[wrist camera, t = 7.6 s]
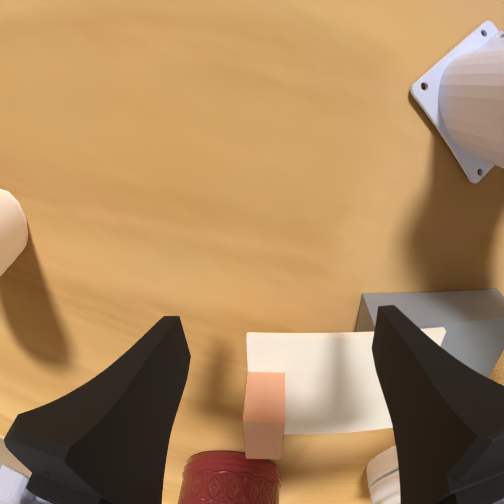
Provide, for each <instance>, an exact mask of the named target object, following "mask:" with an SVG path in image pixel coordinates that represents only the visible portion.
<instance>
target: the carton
mask: <svg viewBox="0 0 504 504" xmlns="http://www.w3.org/2000/svg"><path fill="white" fill-rule="evenodd" d="M387 305H395V306H396V307H397V308H398V309H399V310H400V311H401V312H402V313H403V314H405V315H406V316H407V317H408V318H409V319H410V320H411V321H412V322H413V323H414V324H415V325H416V326H417V327H419V328H420V329H425V328H437V327H444V329H445V330H446V333H445V336H444V338H443V341H442V343H441V346H440V347H442V348H443V349H444V350H446V351H447V352H448V353H449V354H451V355H452V356H453V357H455V358H456V359H458V360H459V361H461V362H462V363H464V364H465V365H467V366H468V367H469V368H471V369H473V370H474V371H476V372H478V373H480V374H481V375H483V376H485V377H487V378H488V377H489V375H490V373H491V371H492V370H493V368H494V366H495V364H496V363H497V361H498V359H499V357H500V355H501V353H502V351H503V349H504V297H503V295H502V294H501V293H500V292H499V291H498V290H497V289H484V290H465V291H442V292H413V293H366V294H362V298H361V304H360V309H359V314H358V319H357V324H356V329H355V332H374V331H375V324H376V318H377V311H378V306H387Z"/></svg>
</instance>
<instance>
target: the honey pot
mask: <svg viewBox="0 0 504 504" xmlns="http://www.w3.org/2000/svg"><path fill="white" fill-rule="evenodd" d="M366 473H367V480H368V487H369V490H370V491H369V493H370V499H371V501H372V503H373V504H401V500H400V479H399V467H398V458H397V450H396V445H395V446H393V447H391V448H389V449H387V450H385V451H383V452H382V453H380V454H378V455H377V456H376V457H374V458H373V459H372V460H371V461H370V462H369V463H368V465H367V467H366Z"/></svg>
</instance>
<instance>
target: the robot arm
mask: <svg viewBox="0 0 504 504" xmlns="http://www.w3.org/2000/svg"><path fill="white" fill-rule="evenodd" d="M481 31H482V32H483V33H484V36H483V35H482V33H481ZM422 83H424V84H425V86H426V88H425V90H423V89H422V88H421V84H422ZM410 93H411V95H412V96H413V97H414V99H415V100H416V101H417V103H418V104H419V105H420V107H421V108H422V109H423V111H424V112H425V113H426V115H427V116H428V117H429V119H430V120H431V122H432V123H433V124H434V126H435V127H436V129H437V130H438V132H439V133H440V135H441V136H442V138H443V139H444V141H445V142H446V144H447V145H448V147H449V148H450V150H451V151H452V153H453V155H454V156H455V158H456V159H457V161H458V163H459V164H460V166H461V168H462V169H463V171H464V173H465V174H466V176H467V178H468V180H469V181H470V182H472V183H474V184H475V183H478V182H479V181H480V180H481V179H482V178H483V177H484V176H485V175H486V174H487V173H488V172H489V171H490V170H491V169H492V168H493V167H494V166H495V165H496V166H499V167H501V168H503V169H504V31H498V30H497V28H496V27H495V25H494V24H493V23H492V22H491V21H485V22H483V23H482V24H481V25H480V26H479V27H477V28H476V29H475V30H474V31H473V32H472V33H471V34H469V35H468V36H467V37H466V38H465V39H464V40H462V41H461V42H460V43H459V44H458V45H457V46H456V47H454V48H453V49H452V50H451V51H450V52H449V53H448V54H446V55H445V56H444V57H443V58H442V59H441V60H440V61H438V62H437V63H436V64H435V65H434V66H433V67H432V68H430V69H429V70H428V71H427V72H426V73H425V74H424V75H423V76H421V77H420V78H419V79H418V80H417V81H416V82H415V83H413V84H412V86H411V87H410ZM478 169H480V173H479V174H477V171H478ZM372 354H373V359H374V364H375V369H376V373H377V376H378V380H379V383H380V386H381V389H382V392H383V395H384V398H385V402H386V405H387V408H388V411H389V415H390V418H391V422H392V426H393V430H394V437H395V443H396V450H397V458H398V467H399V479H400V500H401V504H504V386H503V385H501V384H499V383H497V382H495V381H492V380H490V379H489V378H487V377H485V376H483V375H481V374H480V373H478V372H476V371H474V370H473V369H471V368H469V367H468V366H467V365H465V364H464V363H462V362H461V361H459V360H458V359H456V358H455V357H453V356H452V355H451V354H449V353H448V352H447V351H446V350H444V349H443V348H442V347H440V346H439V345H438V344H437V343H436V342H434V341H433V340H432V339H431V338H430V337H429V336H427V335H426V334H425V333H424V332H423V331H422V330H421V329H420V328H419V327H417V326H416V325H415V324H414V323H413V322H412V321H411V320H410V319H409V318H408V317H407V316H406V315H405V314H403V313H402V312H401V311H400V310H399V309H398V308H397V307H396V306H395V305H387V306H378V311H377V318H376V324H375V331H374V337H373V342H372ZM190 358H191V355H190V352H189V348H188V345H187V342H186V338H185V335H184V331H183V328H182V324H181V320H180V317H179V316H164V317H163V318H161V319H160V320H159V321H158V322H157V323H156V324H155V325H154V326H153V327H152V328H151V329H150V330H149V331H148V332H147V333H146V334H145V335H144V336H143V337H142V338H141V339H140V340H139V341H138V342H136V343H135V344H134V345H133V346H132V347H131V348H130V349H129V350H128V351H127V352H126V353H124V354H123V355H122V356H121V357H120V358H119V359H118V360H116V361H115V362H114V363H113V364H112V365H111V366H109V367H108V368H107V369H105V370H104V371H103V372H102V373H100V374H99V375H97V376H96V377H94V378H93V379H92V380H90V381H89V382H87V383H86V384H84V385H82V386H80V387H79V388H77V389H75V390H74V391H72V392H70V393H69V394H67V395H65V396H63V397H61V398H59V399H57V400H55V401H53V402H50V403H48V404H46V405H44V406H41V407H38V408H36V409H33V410H30V411H27V412H24V413H21V414H18V416H17V417H16V419H15V421H14V423H13V424H12V426H11V428H10V429H9V431H8V433H7V435H6V437H5V438H4V442H5V445H6V447H7V448H8V450H9V451H10V452H11V453H12V454H13V455H14V456H15V457H16V458H17V459H18V460H19V461H20V462H21V463H22V464H23V465H24V466H26V467H27V468H28V469H29V470H30V471H31V472H32V475H31V477H30V478H28V477H27V476H25V475H24V474H22V473H20V472H18V471H16V470H14V469H12V468H10V467H8V466H6V465H2V467H1V469H0V504H162V490H163V479H164V471H165V463H166V456H167V450H168V444H169V439H170V434H171V430H172V426H173V423H174V419H175V416H176V413H177V410H178V407H179V403H180V400H181V397H182V394H183V391H184V387H185V384H186V381H187V376H188V371H189V364H190Z"/></svg>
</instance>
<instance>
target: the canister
mask: <svg viewBox="0 0 504 504" xmlns="http://www.w3.org/2000/svg"><path fill="white" fill-rule="evenodd" d="M280 482H281V478H280V475H279V470H278V468H277V467H276V466H275V465H274V464H273V463H271V462H270V461H268V460H266V459H248V458H246V456H245V453H239V452H230V451H211V452H203V453H199V454H196V455H194V456H192V457H191V458H189V460H188V462H187V464H186V466H185V467H184V472H183V482H182V486H181V491H180V496H179V500H178V504H279V489H280V487H281V483H280Z"/></svg>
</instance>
